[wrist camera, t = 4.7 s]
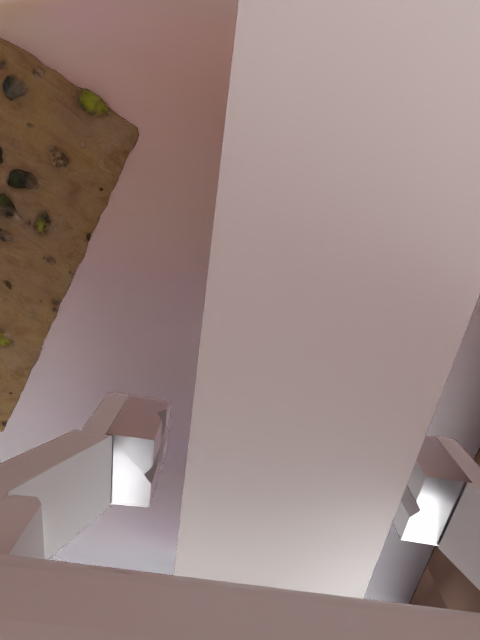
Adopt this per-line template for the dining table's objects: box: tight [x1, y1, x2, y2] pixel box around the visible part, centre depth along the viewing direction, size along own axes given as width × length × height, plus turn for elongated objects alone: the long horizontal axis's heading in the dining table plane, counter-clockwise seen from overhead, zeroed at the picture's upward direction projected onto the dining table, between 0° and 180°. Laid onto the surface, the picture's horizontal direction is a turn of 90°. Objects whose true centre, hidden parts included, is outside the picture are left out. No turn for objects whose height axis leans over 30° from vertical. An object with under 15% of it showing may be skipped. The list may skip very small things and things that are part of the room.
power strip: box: [173, 0, 480, 598], centre depth 9 cm, size 18×4×6 cm, turn 172°
